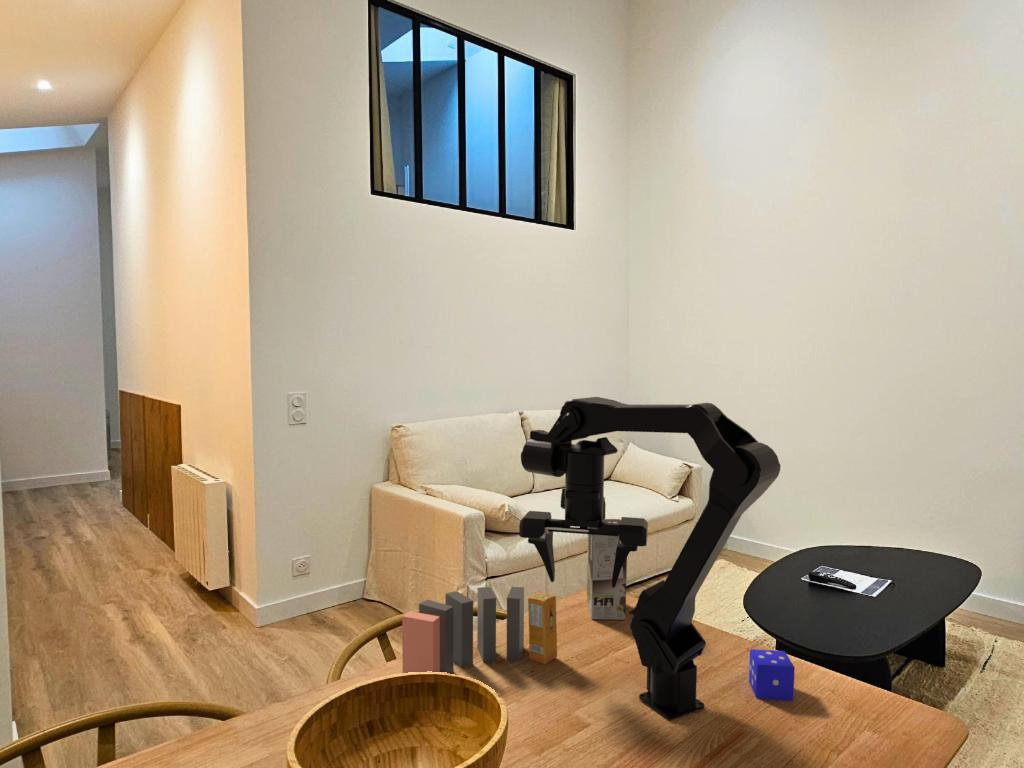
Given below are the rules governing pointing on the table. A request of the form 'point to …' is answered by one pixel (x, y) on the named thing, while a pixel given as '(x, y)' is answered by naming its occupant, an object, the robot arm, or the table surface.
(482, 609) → the domino
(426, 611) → the domino
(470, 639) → the domino
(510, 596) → the domino
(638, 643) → the robot arm
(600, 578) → the coffee box
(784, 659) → the die
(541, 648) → the supplement box
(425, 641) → the domino
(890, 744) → the table surface
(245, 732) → the table surface
